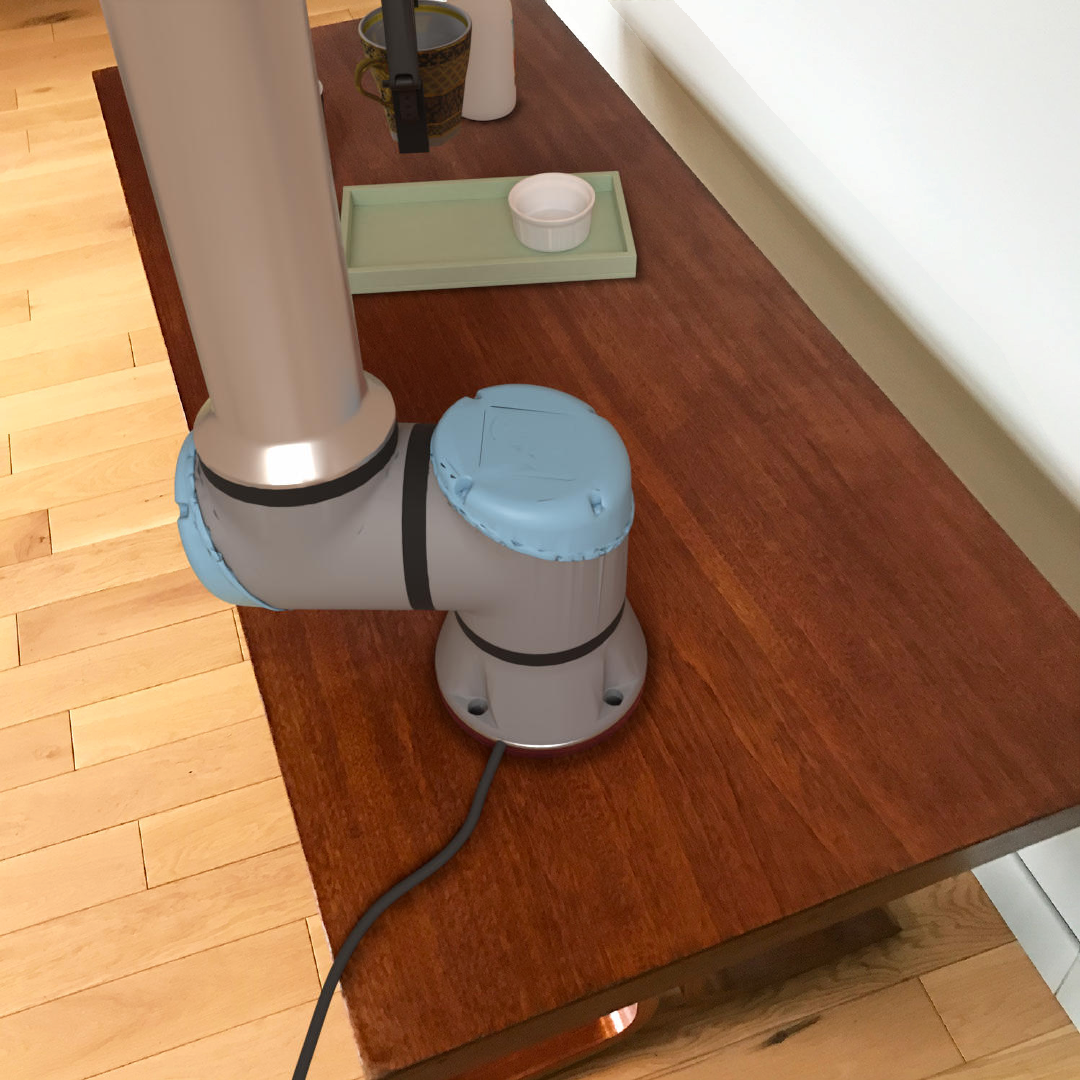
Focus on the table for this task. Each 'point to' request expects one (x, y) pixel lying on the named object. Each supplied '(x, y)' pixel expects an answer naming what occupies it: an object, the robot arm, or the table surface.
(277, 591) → the robot arm
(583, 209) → the ramekin
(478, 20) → the milk bottle
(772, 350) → the table surface
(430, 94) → the ceramic cup
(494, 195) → the tray
